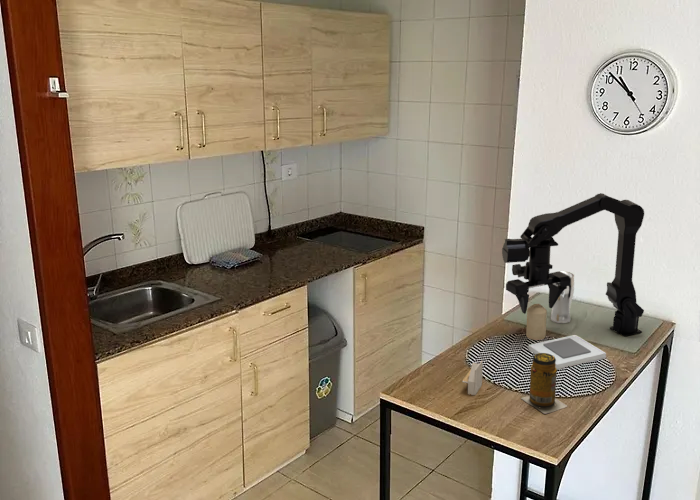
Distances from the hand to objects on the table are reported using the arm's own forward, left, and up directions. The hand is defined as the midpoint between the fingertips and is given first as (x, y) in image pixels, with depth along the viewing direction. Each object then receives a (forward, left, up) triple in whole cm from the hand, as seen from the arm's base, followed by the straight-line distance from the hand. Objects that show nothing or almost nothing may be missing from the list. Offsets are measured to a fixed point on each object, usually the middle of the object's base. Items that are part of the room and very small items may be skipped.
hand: (537, 310), depth 192 cm
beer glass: (-14, -7, -9) cm, 18 cm away
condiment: (+20, +32, -9) cm, 39 cm away
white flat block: (-1, +13, -8) cm, 15 cm away
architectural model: (+32, +20, -9) cm, 39 cm away
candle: (0, 0, -9) cm, 9 cm away
